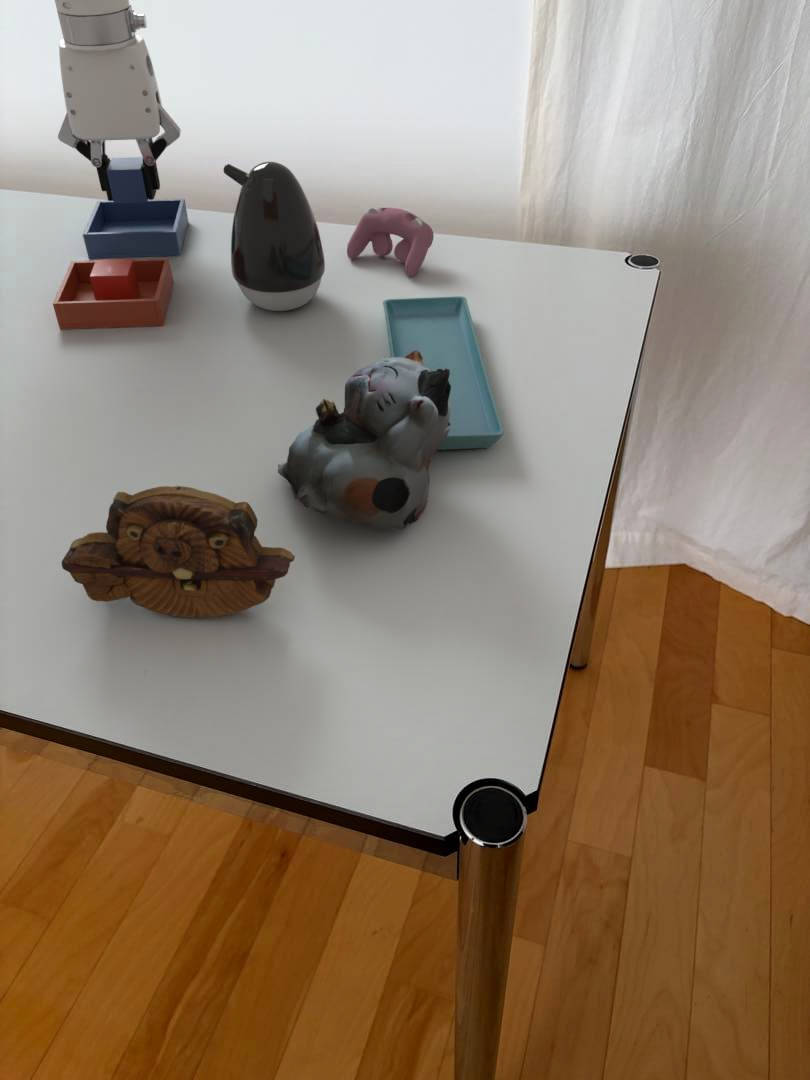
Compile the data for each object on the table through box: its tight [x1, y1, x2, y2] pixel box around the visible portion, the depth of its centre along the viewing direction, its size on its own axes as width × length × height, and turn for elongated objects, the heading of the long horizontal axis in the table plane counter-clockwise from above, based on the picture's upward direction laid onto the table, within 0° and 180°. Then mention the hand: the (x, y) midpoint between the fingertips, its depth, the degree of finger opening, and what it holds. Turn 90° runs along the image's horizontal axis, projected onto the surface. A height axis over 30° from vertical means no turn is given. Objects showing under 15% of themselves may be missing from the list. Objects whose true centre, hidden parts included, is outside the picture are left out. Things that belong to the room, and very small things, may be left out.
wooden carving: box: [61, 485, 296, 619], centre depth 64 cm, size 16×5×10 cm, turn 90°
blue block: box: [107, 156, 149, 204], centre depth 108 cm, size 4×4×4 cm
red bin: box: [52, 258, 174, 330], centre depth 99 cm, size 11×10×3 cm
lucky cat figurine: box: [277, 350, 451, 530], centre depth 73 cm, size 15×12×14 cm
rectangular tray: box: [382, 295, 505, 451], centre depth 89 cm, size 26×9×2 cm, turn 5°
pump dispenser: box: [223, 161, 326, 312], centre depth 96 cm, size 10×10×15 cm
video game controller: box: [346, 207, 435, 277], centre depth 107 cm, size 10×5×7 cm, turn 58°
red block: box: [90, 258, 140, 301], centre depth 99 cm, size 4×4×4 cm
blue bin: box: [82, 198, 189, 259], centre depth 112 cm, size 11×10×3 cm
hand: (132, 194), depth 109 cm, fingers closed on blue block, 4 cm apart
